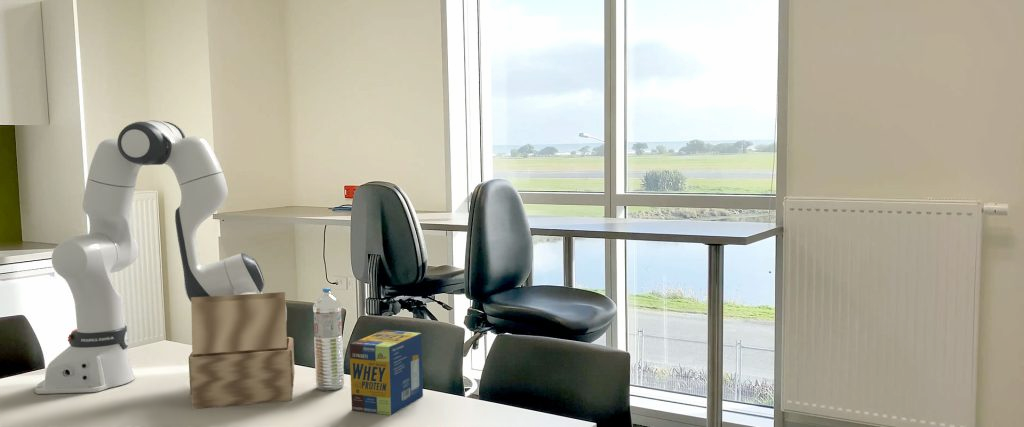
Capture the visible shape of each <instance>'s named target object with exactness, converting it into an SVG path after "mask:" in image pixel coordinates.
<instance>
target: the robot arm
mask: <svg viewBox="0 0 1024 427" xmlns="http://www.w3.org/2000/svg"><path fill="white" fill-rule="evenodd" d="M156 165H158V166H161V165H166V166H168V167H169V168H170V169H171V170H172V171H173V174H174V175H175V178H176V180H177V183H178V186H179V190H180V196H181V198H180V199H181V200H180V205H179V206H178V207H177V208H176V210H175V214H174V220H175V221H174V222H175V229H176V235H177V236H176V237H177V242H178V247H179V251H180V252H179V254H180V258H181V264H182V270H183V278H184V279H183V280H184V290H185V295H186V296H187V298H188V300H189V302H190V303H191V297H208V296H226V295H243V294H260V293H263V289H264V287H265V279H264V275H263V274H262V273H263V272H262V270H261V267H260V266H259V264H258V262H257V261H256V259H255V258H253V257H252V256H250V255H249V254H246V253H245V252H244V253H243V252H241V253H237V254H235V255H232V256H229V257H226V258H224V259H221V260H219V261H216V262H215V261H214V262H212V263H210V264H207V265H203V264H201V261H200V255H199V254H200V253H199V249H198V244H197V237H196V234H197V231H198V228H199V227H200V226H201V224H202V223H203V222H204V221H206V220H207V219H208V218H210V217H211V216H212V215H213V214H215V213H217V211H218V210H219V209H221V207H222V206H223V205H224V204H225V202H226V201H227V198H228V194H229V190H228V189H229V188H228V185H227V181H226V180H227V179H226V178H225V174H224V172H223V169H222V167H221V163H220V162H219V160H218V157H217V156H216V154H215V152H214V150H213V149H212V147H211V145H210V143H209V142H208V141H207V140H206V139H205V138H203V137H200V136H196V135H195V136H186V135H185V133H184V132H183V130H182V129H181V128H180V127H179V126H178V125H176V124H174V123H172V122H169V121H162V120H153V119H152V120H147V121H135V122H133V123H129V124H128V125H126V126H125V127H123V129H122V130H121V131H120V132H119V134H118V138H115V137H114V138H108V139H107V138H106V139H104V140H102V141H101V142H99V144H98V145H97V148H96V150H95V152H94V155H93V157H92V161H91V163H90V165H89V166H90V167H89V170H88V174H87V180H86V183H85V184H86V185H85V189H84V195H83V198H82V210H83V211H84V213H85V214H86V215H87V216H88V221H89V232H88V234H83V235H75V236H72V237H70V238H68V239H66V240H64V241H62V242H60V243H59V244H58V245H56V246H55V247H54V249H53V252H52V254H51V264H52V267H53V269H54V271H55V272H56V274H57V275H59V276H61V277H62V278H63V279H64V280H65V282H66V283H67V285H68V288H69V289H70V292H71V294H72V297H73V301H74V307H75V316H76V317H75V318H76V319H75V320H76V328H75V329H73V330H72V331H70V332H71V333H70V334H69V335H68V337H67V342H69V344H68V345H69V346H68V347H67V348H65V349H64V350H63V351H62V352H61V353H59V354H58V355H57V356H56V357H55V358H54V359H52V360H51V361H50V362H49V363H48V365H47V367H46V370H45V376H44V380H42V381H40V382H39V383H37V385H35V388H34V392H35V393H36V394H38V395H39V394H40V395H41V394H43V395H44V394H46V395H47V394H74V393H97V392H100V391H103V390H107V389H110V388H114V387H118V386H123V385H125V384H128V383H130V382H132V381H134V380H135V378H136V377H135V374H134V372H133V369H132V366H131V362H130V357H129V352H128V347H129V332H128V326H127V325H126V322H125V321H126V320H125V302H124V301H125V300H124V297H123V295H122V294H121V293H120V292H118V291H117V290H116V287H115V286H114V284H113V281H112V278H111V274H112V273H116V272H120V271H123V270H124V269H125V268H127V267H129V266H131V265H132V264H134V262H135V261H136V260H137V258H138V255H139V245H138V242H137V241H136V239H135V237H133V234H132V227H131V226H132V225H131V210H132V205H133V201H134V200H133V199H134V195H135V194H134V193H135V190H136V184H137V179H138V174H139V171H140V170H141V168H142V167H143V166H156ZM287 314H288V311H287V310H286V322H287V320H288V319H287V318H288V317H287V316H288V315H287Z"/></svg>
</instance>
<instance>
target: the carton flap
mask: <svg viewBox="0 0 1024 427" xmlns="http://www.w3.org/2000/svg"><path fill="white" fill-rule="evenodd" d="M190 304H191V306H190V308H191V346H192V347H191V348H192V349H191V351H192V352H191V353H192V355H193V354H206V353H220V352H233V351H247V350H260V349H274V348H287V338H288V336H287V321H286V311H287V305H286V291H283V292H282V291H281V292H280V291H278V292H265V293H260V294H243V295H226V296H208V297H191V302H190Z"/></svg>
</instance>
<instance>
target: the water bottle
mask: <svg viewBox="0 0 1024 427" xmlns="http://www.w3.org/2000/svg"><path fill="white" fill-rule="evenodd" d="M312 311H313V328H314V330H313V332H314V337H313V340H314V345H313V346H314V358H315V359H314V365H315V367H314V369H315V370H314V371H315V385H316V387H315V388H316V389H317V390H319V391H322V392H331V391H332V392H333V391H337V390H340V389H342V388H343V387H344V385H345V374H344V373H345V372H344V371H345V370H344V353H343V352H344V347H343V346H344V345H343V344H344V343H343V342H344V341H343V333H342V332H343V328H342V303H341V301H340V300H339V299H338V298H337V297H336V296H334V295H333V294H331V288H330V287H323V288H322V295H320V296H319V297H318V298H317V299H316V300H315V302H314V304H313V306H312Z"/></svg>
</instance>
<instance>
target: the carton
mask: <svg viewBox="0 0 1024 427" xmlns="http://www.w3.org/2000/svg"><path fill="white" fill-rule="evenodd" d="M294 346H295V345H294V338H293V337H292V336H291V337H290V336H287V348H274V349H260V350H247V351H233V352H220V353H206V354H193V355H192V352H190V355H189V356H188V371H189V372H188V374H189V376H188V377H189V394H190V397H191V404H192V405H191V407H192V410H199V409H201V410H202V409H208V408H209V409H211V408H220V407H233V406H243V405H245V406H246V405H255V404H266V403H277V402H278V403H279V402H289V401H292V400H293V392H294V381H295V374H296V373H295V371H296V370H295V354H294V353H295V350H294V349H295V348H294Z"/></svg>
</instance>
